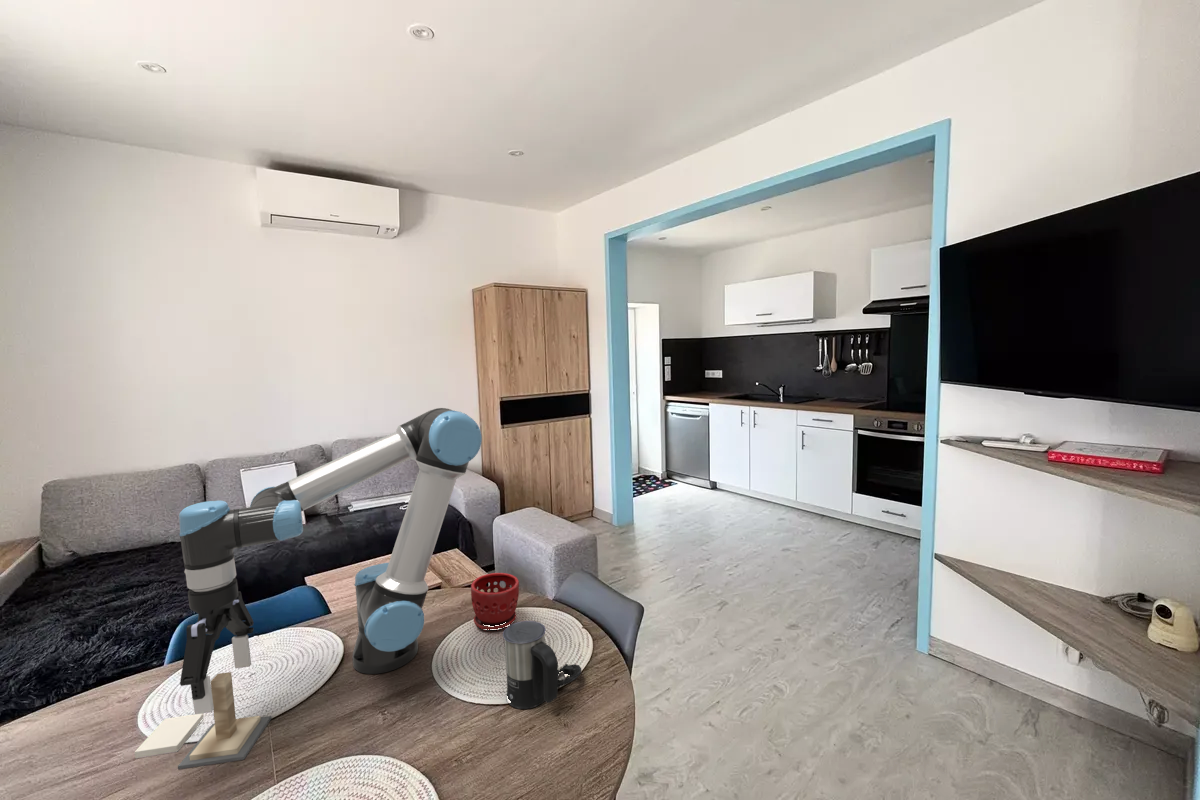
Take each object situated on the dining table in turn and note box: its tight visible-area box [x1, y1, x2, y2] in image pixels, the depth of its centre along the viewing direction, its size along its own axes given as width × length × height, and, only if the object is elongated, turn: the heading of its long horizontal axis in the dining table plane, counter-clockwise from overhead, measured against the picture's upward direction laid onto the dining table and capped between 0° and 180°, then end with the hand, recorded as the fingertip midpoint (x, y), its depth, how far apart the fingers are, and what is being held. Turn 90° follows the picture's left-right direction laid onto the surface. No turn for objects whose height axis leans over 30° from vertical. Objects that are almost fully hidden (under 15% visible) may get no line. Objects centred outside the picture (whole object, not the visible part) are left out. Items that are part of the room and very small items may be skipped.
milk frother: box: [502, 620, 582, 710], centre depth 112 cm, size 14×16×15 cm
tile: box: [134, 713, 205, 759], centre depth 101 cm, size 7×2×9 cm
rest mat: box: [177, 715, 272, 770], centre depth 99 cm, size 11×11×1 cm
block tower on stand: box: [190, 671, 261, 761], centre depth 98 cm, size 8×9×13 cm
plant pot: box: [470, 572, 520, 630], centre depth 141 cm, size 13×13×12 cm
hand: (225, 687), depth 98 cm, fingers open, 13 cm apart
